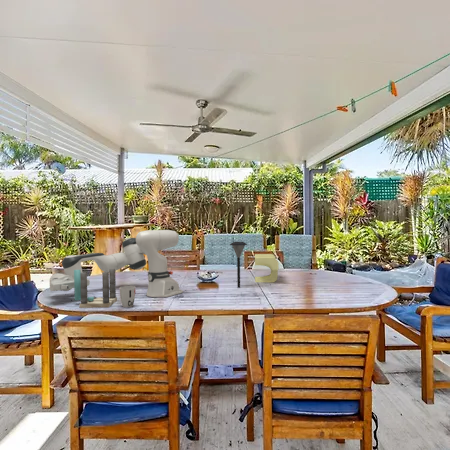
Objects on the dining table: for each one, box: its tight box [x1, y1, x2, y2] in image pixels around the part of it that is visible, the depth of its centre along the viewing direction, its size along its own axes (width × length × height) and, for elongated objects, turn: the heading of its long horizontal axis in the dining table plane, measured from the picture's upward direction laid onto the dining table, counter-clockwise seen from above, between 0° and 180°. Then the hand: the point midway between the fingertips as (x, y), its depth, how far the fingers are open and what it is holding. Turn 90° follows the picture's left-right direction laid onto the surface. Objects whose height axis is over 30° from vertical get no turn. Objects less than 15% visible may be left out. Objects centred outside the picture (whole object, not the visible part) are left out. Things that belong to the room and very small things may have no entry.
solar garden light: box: [229, 241, 248, 289], centre depth 228 cm, size 12×12×30 cm
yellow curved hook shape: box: [254, 253, 280, 283], centre depth 253 cm, size 30×16×18 cm, turn 175°
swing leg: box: [73, 270, 95, 301], centre depth 186 cm, size 11×3×16 cm, turn 76°
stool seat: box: [78, 269, 118, 309], centre depth 188 cm, size 16×16×18 cm
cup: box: [119, 285, 136, 309], centre depth 182 cm, size 8×8×10 cm
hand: (76, 286), depth 188 cm, fingers open, 8 cm apart
